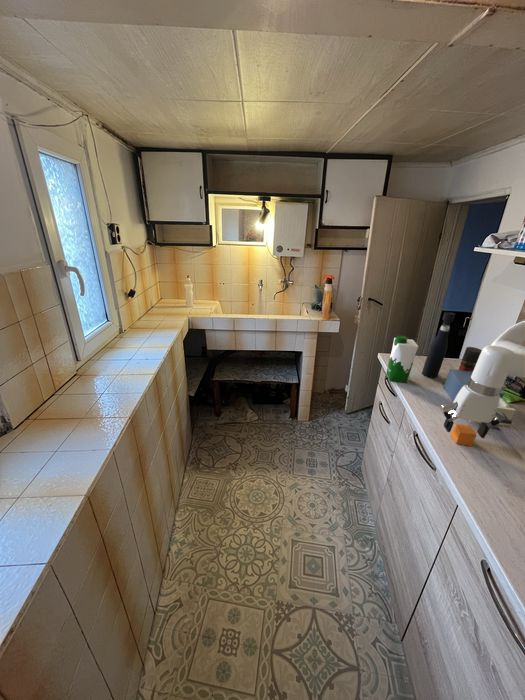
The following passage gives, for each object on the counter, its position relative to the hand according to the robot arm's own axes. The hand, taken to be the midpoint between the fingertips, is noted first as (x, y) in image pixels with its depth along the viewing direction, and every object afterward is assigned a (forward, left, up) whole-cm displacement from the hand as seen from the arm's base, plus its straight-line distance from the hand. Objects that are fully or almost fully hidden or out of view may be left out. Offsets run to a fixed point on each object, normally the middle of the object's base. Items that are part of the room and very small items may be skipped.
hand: (463, 432), depth 90 cm
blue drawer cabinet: (-12, -27, -3) cm, 30 cm away
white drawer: (-12, -15, -2) cm, 20 cm away
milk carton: (+13, -37, -4) cm, 39 cm away
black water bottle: (-3, -45, -3) cm, 45 cm away
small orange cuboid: (0, 0, -3) cm, 3 cm away
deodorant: (-17, -45, -4) cm, 48 cm away
